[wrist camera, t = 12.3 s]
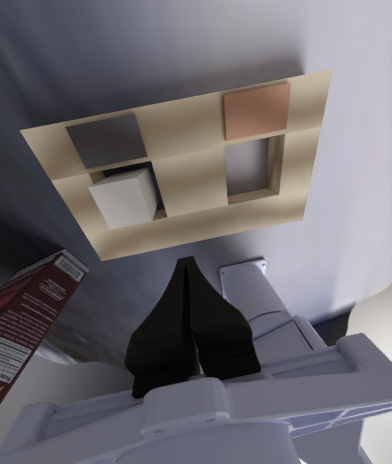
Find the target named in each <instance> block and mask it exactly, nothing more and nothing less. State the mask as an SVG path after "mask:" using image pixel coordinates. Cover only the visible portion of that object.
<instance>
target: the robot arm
mask: <svg viewBox="0 0 392 464" xmlns="http://www.w3.org/2000/svg"><path fill="white" fill-rule="evenodd" d="M219 271H220V279H221V286H222V294H223V297H222V296H221V295H220V294H219V293H218V292H217V291H216V290H215V289H214V288H213V287H212V286H211V284H210V283H209V282H208V281H207V279H206V278H205V277H204V275H203V274H202V272H201V271H200V269H199V267H198V266H197V264H196V261H195V258H194V256H190V257H185V258H180V259H178V260H177V264H176V267H175V270H174V272H173V275H172V277H171V280H170V282H169V284H168V286H167V288H166V290H165V292H164V294H163V295H162V297H161V299H160V300H159V302H158V303H157V305H156V306H155V308H154V309H153V310H152V312H151V313H150V314H149V316H148V317H147V318H146V319H145V321H144V322H143V323H142V324H141V325H140V326H139V327H138V328H137V330H136V331H135V332H134V333H133V334H132V336H131V339H130V342H129V345H128V348H127V353H126V357H125V361H124V365H125V366H126V368H127V369H128V370H129V371H130V372H131V373H132V374H133V375H134V376H135V378H134V385H133V389H132V390H128V391H123V392H118V393H114V394H109V395H105V396H100V397H95V398H91V399H86V400H82V401H77V402H72V403H68V404H63V405H59V406H56V405H55V404H54V403H51V402H40V403H36V404H31V405H27V406H24V407H22V409H21V411H20V413H19V414H18V416H17V418H16V420H15V421H14V423H13V425H12V426H11V428H10V430H9V432H8V434H7V435H6V437H5V439H4V440H3V442H2V444H1V446H0V464H301V462H300V460H299V458H300V459H302V460H303V461H304V462H306V463H307V464H372V462H371V461H370V459H369V458H368V456H367V455H366V453H365V452H364V450H363V449H362V447H361V446H360V444H361V437H362V432H363V426H364V420H365V418H368V417H372V416H376V415H381V414H385V413H389V412H392V362H391V361H390V360H389V359H388V358H387V357H386V356H385V355H384V354H383V352H382V351H380V349H379V348H378V347H377V346H376V345H374V343H373V342H372V341H371V340H370V339H369V338H368V337H367V336H366V335H365V334H363V333H359V334H354V335H349V336H345V337H342V338H340V339H339V340H338V341H337V342H336V345H335V346H330V347H327V346H326V344H325V343H324V342H323V340H322V339H321V338H320V336H319V335H318V334H317V332H316V331H315V330H314V328H313V327H312V326H311V325H310V323H309V322H308V321H307V320H306V318H304V317H301V316H299V315H295V316H294V317H293V316H292V315H291V314H290V313H289V311H288V310H287V308H286V307H285V305H284V304H283V302H282V301H281V299H280V298H279V296H278V295H277V293H276V292H275V290H274V289H273V287H272V286H271V284H270V283H269V281H268V280H267V278H266V277H265V272H266V260H265V259H260V260H255V261H250V262H245V263H240V264H236V265H231V266H226V267H222V268H220V270H219ZM222 272H223V273H222ZM197 348H198V353H197ZM198 357H199V360H198ZM199 363H200V364H201V367H202V369H203V372H204V374H200V367H199Z"/></svg>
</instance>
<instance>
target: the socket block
mask: <svg viewBox="0 0 392 464" xmlns="http://www.w3.org/2000/svg"><path fill="white" fill-rule="evenodd" d="M331 74H332V69H331V70H326V71H321V72H315V73H310V74H305V75H300V76H295V77H290V78H285V79H280V80H275V81H270V82H264V83H259V84H254V85H249V86H244V87H239V88H234V89H229V90H224V91H219V92H213V93H208V94H203V95H198V96H193V97H188V98H183V99H178V100H173V101H168V102H162V103H157V104H152V105H147V106H142V107H137V108H132V109H127V110H122V111H117V112H111V113H106V114H101V115H96V116H91V117H86V118H81V119H76V120H71V121H66V122H60V123H55V124H50V125H45V126H40V127H35V128H30V129H25V130H20V132H21V133H22V135H23V137H24V138H25V140H26V141H27V143H28V145H29V146H30V148H31V149H32V151H33V153H34V154H35V156H36V157H37V159H38V160H39V162H40V164H41V165H42V167H43V168H44V170H45V172H46V173H47V175H48V176H49V178H50V180H51V181H52V183H53V184H54V186H55V187H56V189H57V191H58V192H59V194H60V195H61V197H62V199H63V200H64V202H65V203H66V205H67V207H68V208H69V210H70V211H71V213H72V215H73V216H74V218H75V219H76V221H77V222H78V224H79V226H80V227H81V229H82V230H83V232H84V234H85V235H86V237H87V238H88V240H89V242H90V243H91V245H92V246H93V248H94V249H95V251H96V253H97V254H98V256H99V257H100V259H101V261H105V260H110V259H115V258H119V257H124V256H129V255H134V254H139V253H144V252H148V251H153V250H158V249H163V248H168V247H172V246H177V245H182V244H187V243H192V242H197V241H201V240H206V239H211V238H216V237H221V236H226V235H230V234H235V233H240V232H245V231H250V230H255V229H259V228H264V227H269V226H274V225H279V224H283V223H288V222H293V221H298V220H303V215H304V210H305V205H306V200H307V195H308V190H309V185H310V180H311V175H312V170H313V165H314V160H315V155H316V150H317V145H318V140H319V135H320V130H321V125H322V120H323V115H324V110H325V104H326V99H327V94H328V89H329V84H330V79H331ZM267 137H269V147H268V164H267V181H266V188H264V189H259V190H254V191H250V192H245V193H240V194H235V195H230V196H227V185H226V171H225V156H224V146H227V145H232V144H237V143H242V142H247V141H252V140H257V139H262V138H267ZM147 161H151V162H152V165H153V169H154V172H155V176H156V179H157V183H158V186H159V189H160V193H161V196H162V200H163V203H164V207H165V209H161V210H156V211H155V214H154V217H153V220H152V221H151V222H146V223H141V224H136V225H131V226H126V227H122V228H117V229H112V230H110V229H109V227H108V225H107V223H106V221H105V219H104V217H103V215H102V213H101V212H100V210H99V208H98V206H97V204H96V202H95V200H94V198H93V196H92V194H91V192H90V190H89V189H88V187H89V186H91V185H93V184H95V183H97V182H99V181H101V180H103V179H105V176H104V174H103V171H102V170H107V169H112V168H117V167H122V166H127V165H132V164H137V163H142V162H147Z"/></svg>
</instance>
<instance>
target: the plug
mask: <svg viewBox="0 0 392 464" xmlns="http://www.w3.org/2000/svg"><path fill="white" fill-rule="evenodd" d="M88 189H89V190H90V192H91V194H92V196H93V198H94V200H95V202H96V204H97V206H98V208H99V210H100V212H101V213H102V215H103V217H104V219H105V221H106V223H107V225H108V227H109V229H110V230H112V229H117V228H122V227H126V226H131V225H136V224H141V223H146V222H151V221H152V220H153V217H154V214H155V210H156V207H157V204H158V198H157V195H156V191H155V188H154V185H153V181H152V178H151V175H150V172H149V168H148V167H147V168H142V169H137V170H132V171H127V172H122V173H117V174H113V175H111V176H109V177H107V178H105V179H103V180H101V181H99V182H97V183H95V184H93V185H91V186H89V187H88Z"/></svg>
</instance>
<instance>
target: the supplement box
mask: <svg viewBox="0 0 392 464" xmlns="http://www.w3.org/2000/svg"><path fill="white" fill-rule="evenodd" d="M88 271H89V269H88V268H87V267H86V266H85V265H84V264H82V263H81V262H80V261H79V260H78V259H77V258H75V257H74V256H73V255H72V254H71V253H69V252H68V251H67V250H66V249H63V250H61V251H59V252H57V253H56V254H54V255H52V256H50V257H48V258H46V259H44V260H42V261H40V262H38V263H36V264H34V265H32V266H30V267H28V268H26V269H24V270H22V271H20V272H18V273H17V274H16V275H15V276H14V277H12V278H11V279H10V280H9V281H8V282H7V283H5V284H4V285H3V286H2V287H1V288H0V404H1V402H2V401H3V399H4V398H5V396H6V395H7V393H8V392H9V390H10V389H11V387H12V386H13V384H14V383H15V381H16V380H17V378H18V377H19V375H20V374H21V372H22V371H23V369H24V368H25V366H26V364H27V363H28V362H29V360H30V359H31V357H32V356H33V354H34V352H35V351H36V349H37V348H38V346H39V345H40V343H41V342H42V340H43V339H44V337H45V336H46V334H47V333H48V331H49V330H50V328H51V327H52V325H53V324H54V322H55V321H56V319H57V318H58V316H59V315H60V313H61V312H62V310H63V309H64V307H65V306H66V304H67V303H68V301H69V300H70V298H71V297H72V295H73V294H74V292H75V291H76V289H77V288H78V286H79V285H80V283H81V282H82V280H83V279H84V277H85V275H86V274H87V272H88Z"/></svg>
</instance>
